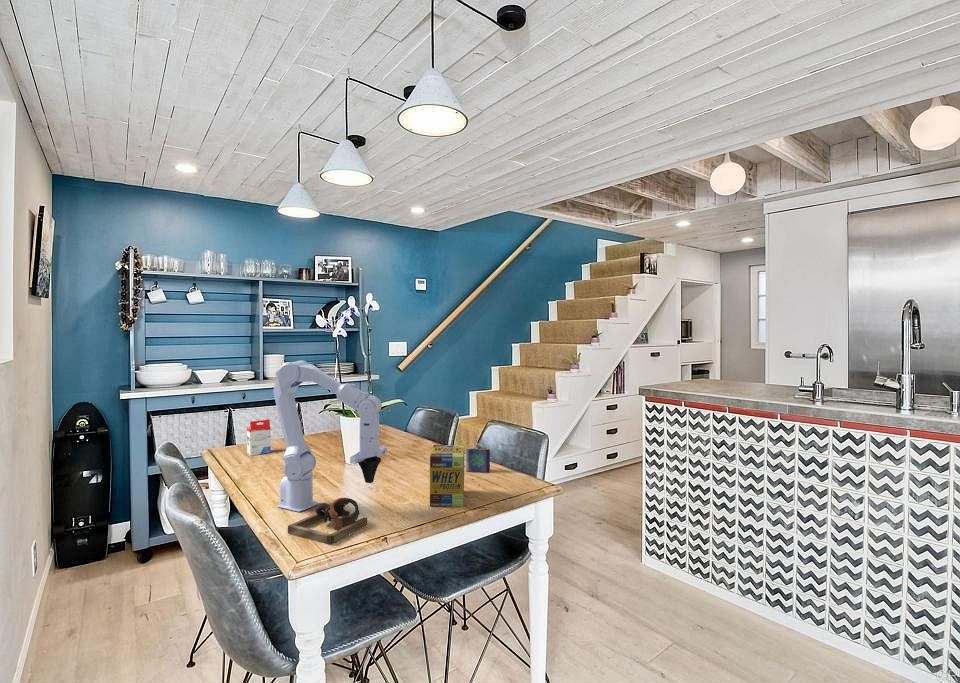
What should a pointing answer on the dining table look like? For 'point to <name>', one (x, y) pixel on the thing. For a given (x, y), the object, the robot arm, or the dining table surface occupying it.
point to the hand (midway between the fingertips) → (369, 482)
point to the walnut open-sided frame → (304, 532)
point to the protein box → (447, 475)
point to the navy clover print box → (478, 459)
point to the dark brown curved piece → (338, 512)
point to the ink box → (258, 438)
